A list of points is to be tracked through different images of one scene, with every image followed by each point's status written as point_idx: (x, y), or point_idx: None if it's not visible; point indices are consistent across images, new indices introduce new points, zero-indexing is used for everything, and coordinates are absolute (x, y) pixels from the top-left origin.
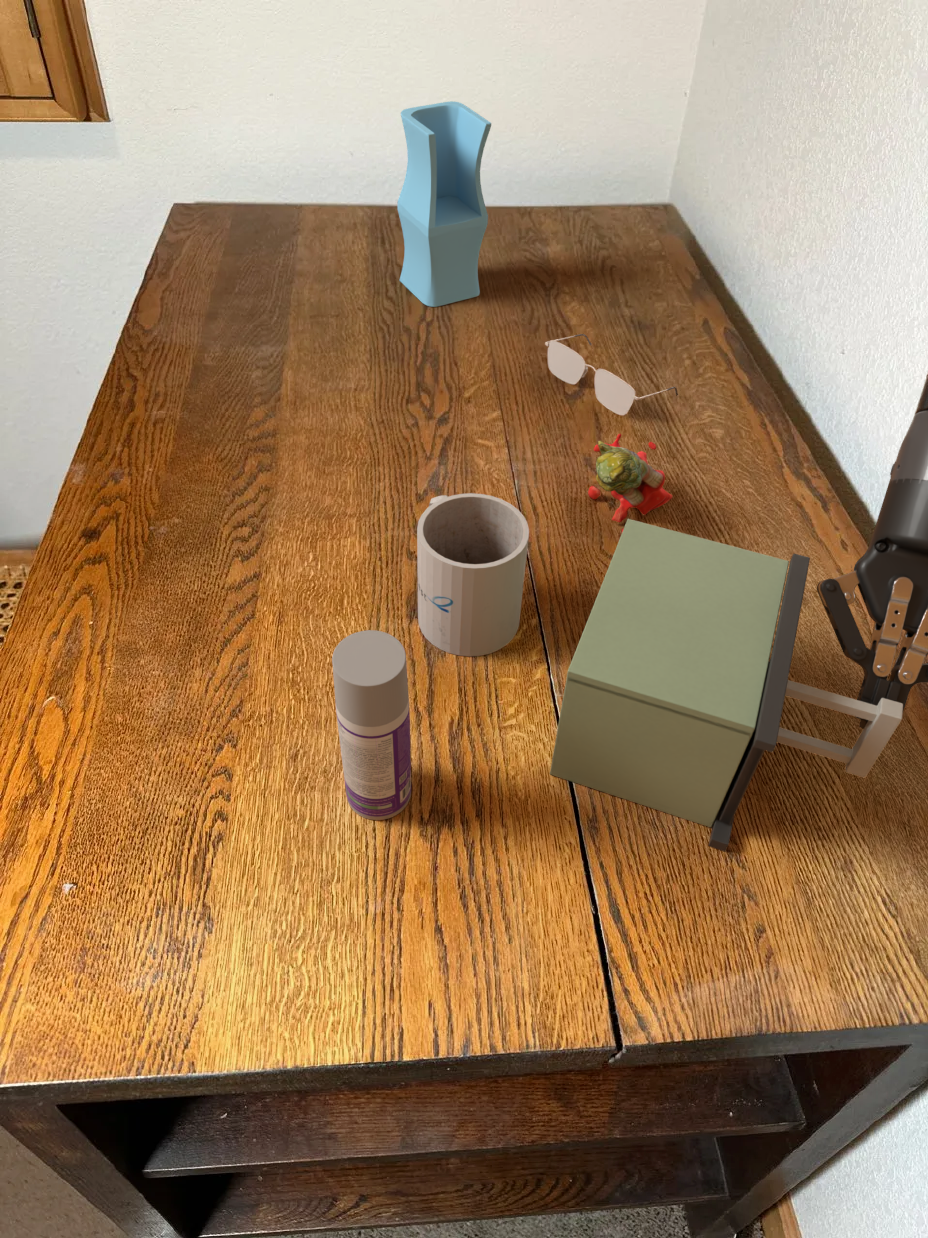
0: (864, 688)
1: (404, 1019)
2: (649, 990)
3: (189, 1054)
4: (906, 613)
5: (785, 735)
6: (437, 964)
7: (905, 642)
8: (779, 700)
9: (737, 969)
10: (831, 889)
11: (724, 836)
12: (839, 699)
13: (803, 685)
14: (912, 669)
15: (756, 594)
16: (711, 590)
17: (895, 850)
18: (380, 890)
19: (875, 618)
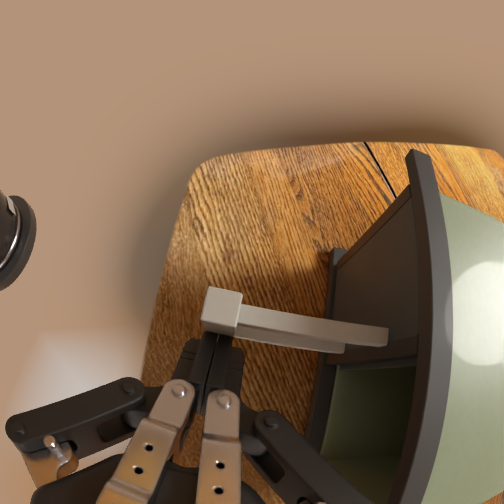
0: (241, 380)
1: (439, 154)
2: (357, 161)
3: (476, 150)
4: (190, 494)
5: (313, 339)
6: (442, 173)
7: (177, 457)
8: (428, 209)
9: (311, 172)
10: (244, 232)
11: (337, 253)
12: (300, 322)
13: (352, 339)
14: (171, 399)
15: (454, 445)
16: (494, 418)
17: (181, 276)
18: (474, 206)
19: (248, 485)
